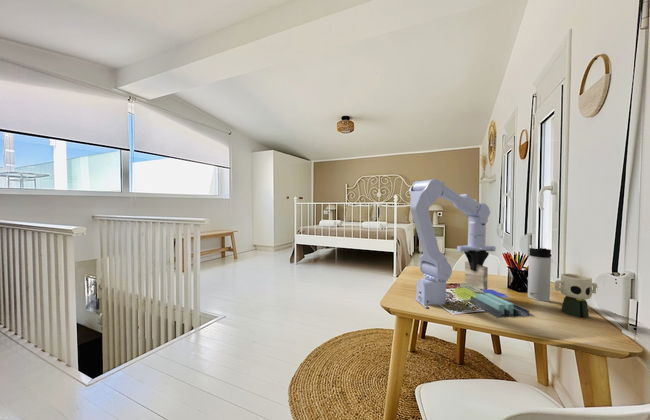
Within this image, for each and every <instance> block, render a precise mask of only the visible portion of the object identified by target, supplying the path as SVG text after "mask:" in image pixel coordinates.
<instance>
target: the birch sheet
mask: <svg viewBox="0 0 650 420" xmlns="http://www.w3.org/2000/svg"><path fill="white" fill-rule="evenodd" d="M488 272H489V270H488V267H487V266H484V265H483V266H481V265H478V264H477V268H476V271H473V270H471V269H470V265H469V261H464V282H465V283H466V284H470V285H471V286H474V287H476V288H479V289H480V290H482V289H483V290H484V289H488V279H489V278H488V275H489V273H488Z"/></svg>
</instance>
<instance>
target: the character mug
mask: <svg viewBox="0 0 650 420" xmlns="http://www.w3.org/2000/svg"><path fill="white" fill-rule="evenodd" d="M596 288H597V289H598V284H597V283H595V282H593V279H592V278H591V277H590V276H586V275H583V274H582V275H581V274H577V273H566V272H564V273H561V275H560V280H558V279H557V280H555V282H554V289H555V291H556V292H557V291H559V292H560V293H561V294H562V295H565V296H564V297H563V301H562V305H561V312H562V313H564V314H566V315H568V316H571V317H575V318H581V317H582V318H583V319H588V318H589V316H590V315H589V306H588V302H587V300H589V299H591V298H592V296H593V294H597V293H596Z"/></svg>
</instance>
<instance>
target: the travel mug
mask: <svg viewBox="0 0 650 420" xmlns="http://www.w3.org/2000/svg"><path fill="white" fill-rule="evenodd" d="M528 251H529V253H528V270H527V271H528V275H527V298H528V299H531V300H535V301H537V302H545V303H546V302H550V301H551V299H550V297H551V296H550V294H551V273H552V272H551V271H552V269H551V266H552V260H551V259H552V256H551V255H552V249H549V248H548V249H547V248H546V247H545V248H544V247H543V248H541V247H539V248H534V247H533V248H531V247H529V249H528Z"/></svg>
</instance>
